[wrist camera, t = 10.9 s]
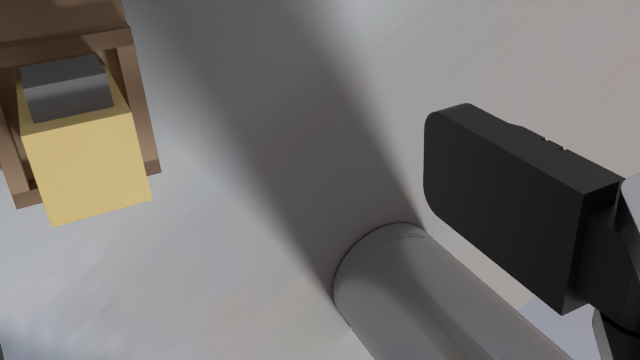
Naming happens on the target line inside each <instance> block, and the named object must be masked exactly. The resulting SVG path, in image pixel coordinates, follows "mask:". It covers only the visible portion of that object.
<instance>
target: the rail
mask: <svg viewBox="0 0 640 360" xmlns="http://www.w3.org/2000/svg"><path fill="white" fill-rule="evenodd" d="M95 53H96V55H97V57H98V59H99V61H100V63H101V65H102V64H106V66H107V68H108V70H109V72H110V74H111V75H112V77H113V79H114V81H115V83H116V85H117V86H118V88H119V90H120V92H121V94H122V96H123V97H124V99H125V101H126V103H127V105H128V107H129V108H130V110H131V112H132V116H133V121H134V125H135V129H136V133H137V137H138V142H139V146H140V150H141V154H142V159H143V163H144V167H145V171H146V176H149V175H153V174H157V173H161V168H160V163H159V158H158V154H157V149H156V144H155V140H154V135H153V130H152V126H151V121H150V117H149V112H148V107H147V103H146V98H145V93H144V89H143V84H142V79H141V75H140V70H139V65H138V61H137V56H136V51H135V47H134V42H133V37H132V33H131V28H130V27H129V25H128V24H127V23H126V20H125V16H124V11H123V7H122V2H121V0H0V165H1V167H2V170H3V173H4V176H5V178H6V181H7V184H8V187H9V189H10V192H11V195H12V198H13V200H14V203H15V206H16V208H17V209H20V208H24V207H28V206H32V205H36V204H40V203H43V200H42V197H41V194H40V192H39V189H38V186H37V183H36V180H35V177H34V174H33V171H32V168H31V165H30V162H29V160H28V157H27V154H26V151H25V148H24V145H23V142H22V139H21V135H20V124H19V113H18V101H17V90H16V81H17V80H21V72H20V67H24V66H29V65H35V64H40V63H46V62H51V61H57V60H62V59H68V58H73V57H79V56H84V55H90V54H95Z"/></svg>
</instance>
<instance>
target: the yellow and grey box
mask: <svg viewBox="0 0 640 360" xmlns="http://www.w3.org/2000/svg"><path fill="white" fill-rule="evenodd" d="M20 72H21V80H17V81H16V90H17V101H18V113H19V124H20V135H21V139H22V142H23V145H24V148H25V151H26V154H27V157H28V160H29V162H30V165H31V168H32V171H33V174H34V177H35V180H36V183H37V186H38V189H39V192H40V194H41V197H42V200H43V203H44V206H45V209H46V212H47V215H48V218H49V221H50V224H51V226H52V227H55V226H59V225H63V224H66V223H70V222H73V221H77V220H81V219H84V218H88V217H92V216H95V215H99V214H103V213H106V212H110V211H113V210H117V209H121V208H124V207H128V206H132V205H135V204H139V203H143V202H146V201H150V200H152V197H151V193H150V188H149V184H148V180H147V176H146V171H145V167H144V163H143V159H142V154H141V150H140V146H139V142H138V137H137V133H136V129H135V125H134V121H133V116H132V112H131V110H130V108H129V107H128V105H127V103H126V101H125V99H124V97H123V96H122V94H121V92H120V90H119V88H118V86H117V85H116V83H115V81H114V79H113V77H112V75H111V74H110V72H109V70H108V68H107V66H106V64H102V65H101V63H100V61H99V59H98V57H97V55H96V53H95V54H90V55H84V56H79V57H73V58H68V59H62V60H57V61H51V62H46V63H40V64H35V65H29V66H24V67H20Z"/></svg>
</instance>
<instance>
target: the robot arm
mask: <svg viewBox="0 0 640 360" xmlns="http://www.w3.org/2000/svg"><path fill="white" fill-rule="evenodd" d="M423 188H424V194H425V197H426V200H427V203H428V205H429V206H430V208H431V210H432V211H433V212H434V214H435V215H436V216H438V217H439V218H440V219H441V220H443V221H444V222H445V223H446V224H448V225H449V226H450V227H451V228H453V229H454V230H455V231H456V232H457V233H459V234H460V235H461V236H462V237H464V238H465V239H466V240H467V241H469V242H470V243H471V244H472V245H474V246H475V247H476V248H477V249H479V250H480V251H481V252H482V253H484V254H485V255H486V256H487V257H489V258H490V259H491V260H492V261H494V262H495V263H496V264H497V265H499V266H500V267H501V268H502V269H504V270H505V271H506V272H507V273H508V274H510V275H511V276H512V277H513V278H515V279H516V280H517V281H518V282H520V283H521V284H522V285H523V286H525V287H526V288H527V289H528V290H530V291H531V292H532V293H533V294H535V295H536V296H537V297H538V298H540V299H541V300H542V301H543V302H545V303H546V304H547V305H548V306H550V307H551V308H552V309H553V310H554V311H556V312H557V313H558V314H560V315H561V316H563V315H564V314H567V313H569V312H571V311H573V310H575V309H577V308H580V307H581V306H584V305H586V304H588V303H589V304H591V305H592V306H593V307H595V309H594V314H593V318H592V327H593V331H594V335H595V339H596V342H597V346H598V349H599V353H600V357H601V360H640V174H636V175H633V176H630V177H629V178H627V179H625V178H623V177H621V176H619V175H617V174H615V173H613V172H611V171H609V170H607V169H605V168H603V167H601V166H600V165H598V164H596V163H594V162H592V161H590V160H588V159H586V158H584V157H582V156H580V155H578V154H576V153H574V152H572V151H570V150H568V149H567V150H563V147H562V146H560V145H558V144H556V143H554V142H552V141H550V140H548V141H546V140H545V138H544V137H542V136H540V135H538V134H536V133H534V132H532V131H530V130H528V129H526V128H524V127H521V126H517V125H514V124H510V123H507V122H505V121H503V120H501V119H499V118H497V117H495V116H493V115H491V114H489V113H487V112H485V111H483V110H482V109H480V108H478V107H476V106H474V105H472V104H469V103H464V104H460V105H457V106H453V107H450V108H446V109H443V110H439V111H436V112H432V113H430V114H429V115H428V117H427V119H426V121H425V127H424V172H423ZM333 298H334V302H335V305H336V307H337V309H338V310H339V311H340V313H341V314H342V315H343V317H344V318H345V319H346V321H347V322H348V323H349V325H350V326H351V327H352V330H353V332H354V333H355V334H356V336H357V337H358V338H359V340H360V341H361V342H362V343H363V345H364V346H365V347H366V349H367V350H368V351H369V353H370V354H371V355H372V357H373V358H374V359H375V360H574V359H573V358H572V357H571V356H569V355H568V354H567V353H566V352H565V351H564V350H562V349H561V348H560V347H559V346H558V345H556V344H555V343H554V342H553V341H552V340H551V339H549V338H548V337H547V336H546V335H545V334H544V333H542V332H541V331H540V330H539V329H538V328H536V327H535V326H534V325H533V324H532V323H531V322H530V321H528V320H527V319H526V318H525V317H524V316H523V315H521V314H520V313H519V312H518V311H517V310H516V309H514V308H513V307H512V306H511V305H510V304H509V303H507V302H506V301H505V300H504V299H503V298H502V297H500V296H499V295H498V294H497V293H496V292H495V291H494V290H492V289H491V288H490V287H489V286H488V285H487V284H485V283H484V282H483V281H482V280H481V279H480V278H478V277H477V276H476V275H475V274H474V273H473V272H471V271H470V270H469V269H468V268H467V267H466V266H464V265H463V264H462V263H461V262H460V261H459V260H457V259H456V258H455V257H454V256H453V255H452V254H451V253H449V252H448V251H447V250H446V249H445V248H444V247H442V246H441V245H440V244H439V243H438V242H437V241H435V240H434V239H433V238H432V237H431V236H430V235H428V234H427V233H426V232H425V231H424V230H422V229H421V228H419V227H417V226H415V225H411V224H407V223H396V224H392V225H387V226H384V227H382V228H379V229H377V230H375V231H373V232H371V233H370V234H368V235H367V236H365V237H364V238H362V239H361V240H360V241H359V242H358V243H357V244H356V245H355V246H353V248H352V249H351V250H350V251H349V252H348V254H347V255H346V256H345V258H344V259H343V261H342V263H341V264H340V266H339V268H338V271H337V273H336V276H335V279H334V285H333ZM0 360H4V357H3V352H2V348H1V345H0Z"/></svg>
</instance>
